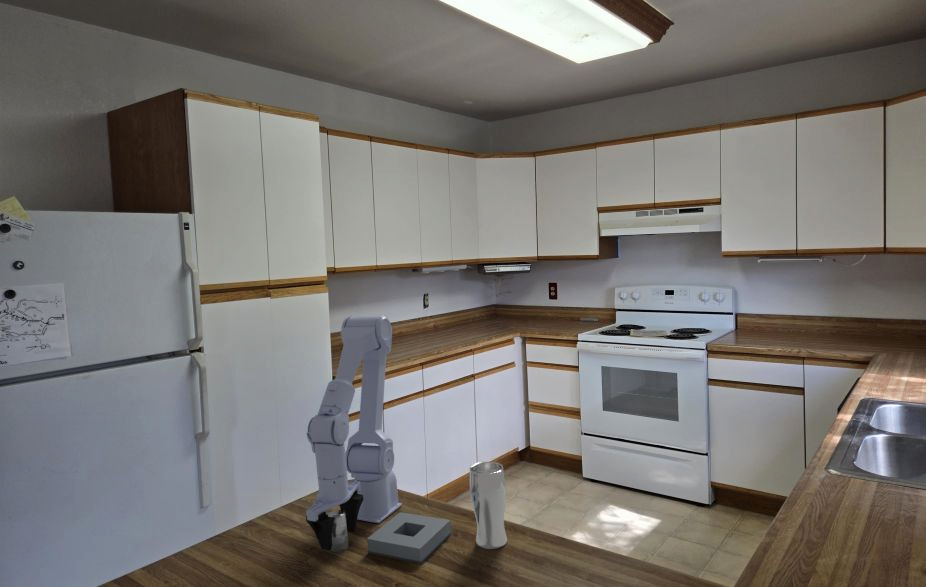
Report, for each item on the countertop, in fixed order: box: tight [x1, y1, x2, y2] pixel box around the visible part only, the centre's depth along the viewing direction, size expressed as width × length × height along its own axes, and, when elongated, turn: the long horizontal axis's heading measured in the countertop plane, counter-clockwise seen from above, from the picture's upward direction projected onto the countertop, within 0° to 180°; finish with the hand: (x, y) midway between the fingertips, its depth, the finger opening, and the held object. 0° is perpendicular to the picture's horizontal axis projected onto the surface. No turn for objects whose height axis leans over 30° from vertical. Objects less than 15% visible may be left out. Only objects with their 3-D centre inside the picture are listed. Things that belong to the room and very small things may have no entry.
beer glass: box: [469, 461, 508, 550], centre depth 122 cm, size 7×7×15 cm
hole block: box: [366, 511, 452, 565], centre depth 124 cm, size 12×12×3 cm
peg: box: [327, 509, 349, 553], centre depth 124 cm, size 4×4×7 cm
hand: (338, 539), depth 125 cm, fingers open, 7 cm apart
